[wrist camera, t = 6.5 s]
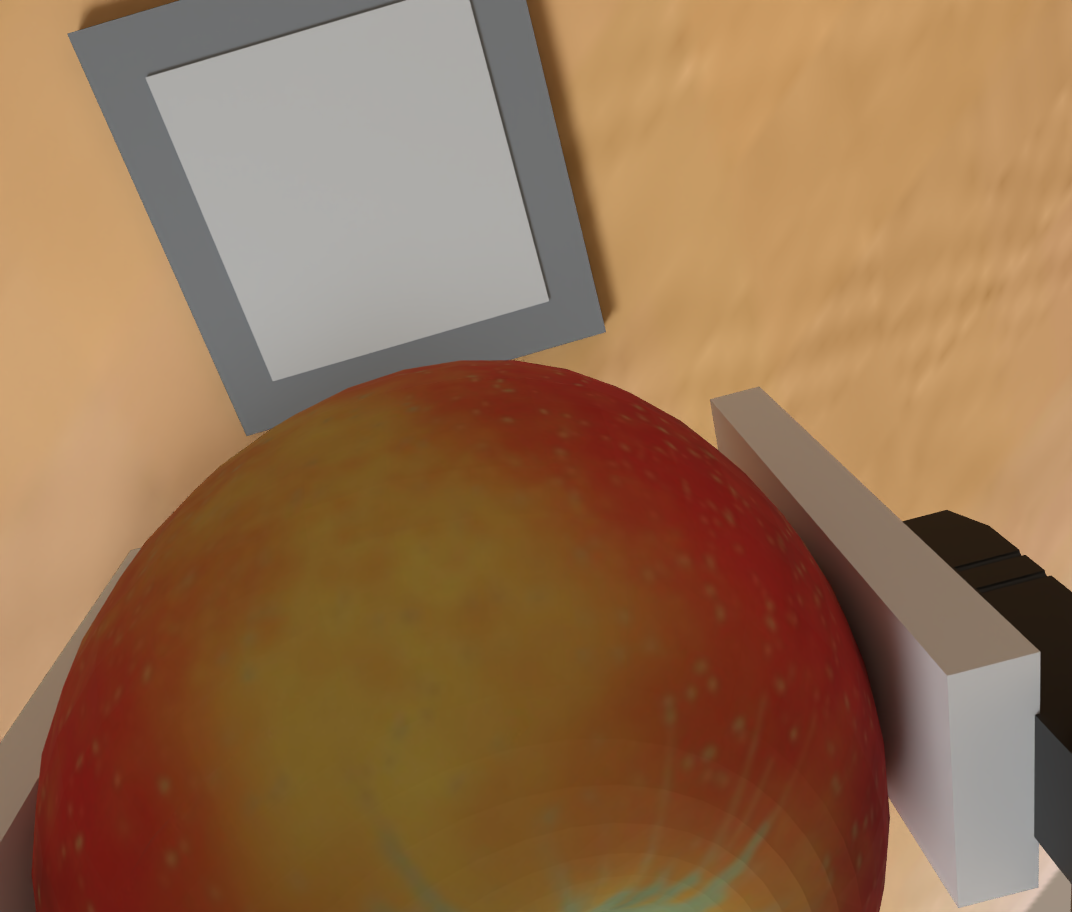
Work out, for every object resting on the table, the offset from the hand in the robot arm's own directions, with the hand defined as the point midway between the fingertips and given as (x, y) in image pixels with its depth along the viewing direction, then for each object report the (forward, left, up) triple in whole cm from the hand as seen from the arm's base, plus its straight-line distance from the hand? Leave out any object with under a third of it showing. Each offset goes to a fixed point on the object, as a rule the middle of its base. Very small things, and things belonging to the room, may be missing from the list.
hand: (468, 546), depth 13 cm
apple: (0, 0, 0) cm, 0 cm away
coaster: (-2, +4, -15) cm, 16 cm away
